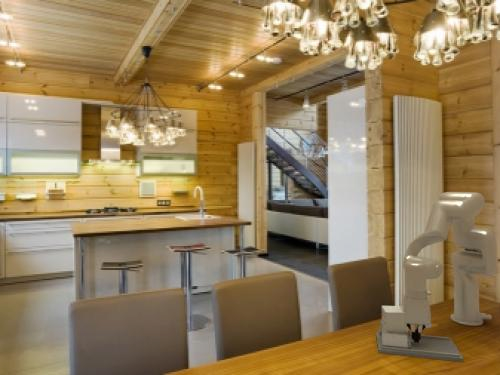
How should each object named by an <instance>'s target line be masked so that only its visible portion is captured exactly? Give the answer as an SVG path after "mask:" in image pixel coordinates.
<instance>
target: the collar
mask: <svg viewBox="0 0 500 375" xmlns="http://www.w3.org/2000/svg"><path fill="white" fill-rule="evenodd" d="M379 331H380V334H382V346H386V347H395V348H405V349H411V335H410V334H411V332H410V329H409V328H408V327H407V326H406V334H395V333H385V332H382V320H379Z"/></svg>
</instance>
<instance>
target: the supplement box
mask: <svg viewBox="0 0 500 375" xmlns="http://www.w3.org/2000/svg"><path fill="white" fill-rule="evenodd" d="M381 321H382V332H385V333H395V334H406V320H405V312H403V311H402V310H401V305H381Z"/></svg>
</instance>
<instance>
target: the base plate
mask: <svg viewBox="0 0 500 375" xmlns="http://www.w3.org/2000/svg"><path fill="white" fill-rule="evenodd" d="M410 335H411V349H405V348H395V347H386V346H382V334H380V330H378V331H376V332H375V336H376V341H377V342H376V343H377V349H378V353H379V354H386V355H387V354H389V355H397V356H404V357H405V356H406V357H415V358H424V359H430V360H431V359H433V360H440V361H441V360H442V361H450V362H451V361H452V362H458V363H459V362H460V363H464V357H463V355H462V353H460V351H459V349H458V348H457V345H456V344H455V343H454V341H453V339H452V338H450V337H448V336H439V335H438V336H437V335H427V334H421V340H419V343H417V342H416V343H414V340H413V339H412V334H411V333H410Z"/></svg>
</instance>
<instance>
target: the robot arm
mask: <svg viewBox="0 0 500 375" xmlns="http://www.w3.org/2000/svg"><path fill="white" fill-rule="evenodd" d="M485 202H486V200H485V197H484V195H482V194H481V193H480V192H474V191H473V192H472V191H471V192H469V191H467V192H466V191H446V192H442V193H441V194H440V195H439V196H438V200H436V201H435V202H434V203H433V204H432V206H431V208H430V213H429V216H428V219H427V223H426V225H425V229H424V231H423V232H422V233H420V234H419V235H417V236H416V237H415V238H414V239H413V240H412V241H411V242H410V243H409V245H408V246H407V249H406V251H405V254H404V256H403V262H402V266H403V270H404V294H403V295H402V297H401V303H400V304H401V305H400V307H401V310H402V311H403V312H405V320H406V326H407V327H408V330H409V331H411V332H410V334H412V339H413V340H414V343H416V342H417V343H419V340H421V335H422V334H421V333H422V332H423V331H424V330H425V329H427V328H432V317H431V316H432V315H431V306H430V305H431V304H430V300H429V297H428V296H431V291H428V290H427V280H435V279H438V278H440V277H441V276H442V274H443V271H444V267H443V263H441V261H439V260H437V259H434V258H433V259H432V258H428V257H423V256H419V253H420V252H421V251H422V250H424V249H425V248H427V247H428V246H431V245H434V244H438V243H442V242H444V241H446V240H448V239H447V238H448V236H449V232H450V230H451V225H452V235H453V236H452V237H453V243H454V245H455V246H456V247H458V248H459V249H461V250H457V251H456V250H455V251H454V252H453V253H452V254H451V264H452V265H451V266H452V270H453V293H454V294H453V295H454V296H453V300H454V302H453V305H454V306H453V308H454V309H453V313H451V315H450V320H451V321H453V322H454V323H457V324H460V325H464V326H472V327H473V326H474V327H477V326H481V325H483V324H484V320H492V317H493V316H492V315H491V314H487V313H485V312H481V311H480V288H479V287H480V285H479V281H478V278H477V276H476V275H481V276H485V277H493V276H496V274H497V272H498V269H499V268H498V267H499V263H498V262H499V261H498V247H497V238H496V235H495V234H494V232H493V231H492V230H489V229H486V228H477V227H476V225H475V217H476V216H478V215H479V214H480V213H482V211H483V209H484V208H485V205H486V204H485ZM464 249H465V250H464ZM415 325H416V328H415Z"/></svg>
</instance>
